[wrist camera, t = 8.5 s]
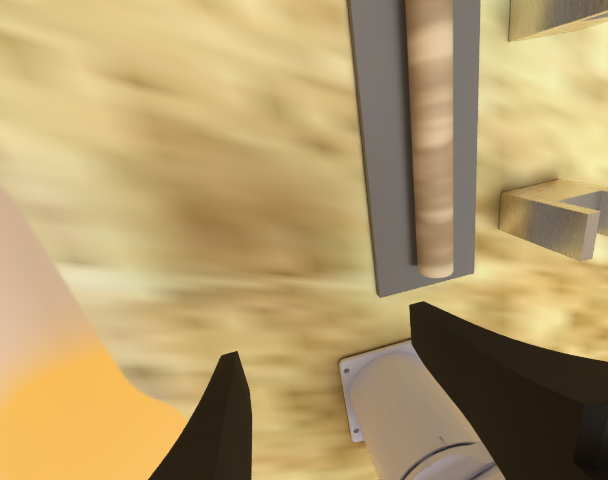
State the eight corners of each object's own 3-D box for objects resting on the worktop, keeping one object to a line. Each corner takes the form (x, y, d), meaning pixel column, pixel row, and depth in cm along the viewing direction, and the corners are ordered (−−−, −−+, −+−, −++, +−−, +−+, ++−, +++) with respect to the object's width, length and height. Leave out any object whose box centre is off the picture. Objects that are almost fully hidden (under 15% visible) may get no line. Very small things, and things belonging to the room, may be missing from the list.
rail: (442, 260, 24) (460, 273, 22) (412, 266, 24) (427, 281, 22) (438, -26, 18) (462, -47, 16) (397, -19, 18) (416, -40, 16)
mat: (469, 270, 26) (473, 273, 25) (377, 294, 25) (380, 297, 25) (476, -72, 18) (482, -78, 18) (341, -56, 17) (344, -61, 17)
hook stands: (554, 215, 26) (650, 242, 20) (499, 229, 25) (580, 261, 19) (582, -25, 20) (730, -91, 14) (511, -15, 19) (634, -78, 13)
